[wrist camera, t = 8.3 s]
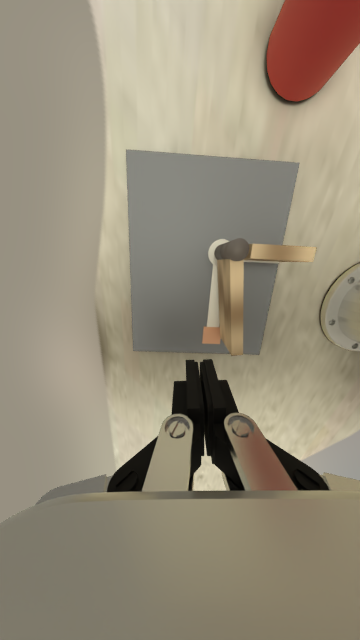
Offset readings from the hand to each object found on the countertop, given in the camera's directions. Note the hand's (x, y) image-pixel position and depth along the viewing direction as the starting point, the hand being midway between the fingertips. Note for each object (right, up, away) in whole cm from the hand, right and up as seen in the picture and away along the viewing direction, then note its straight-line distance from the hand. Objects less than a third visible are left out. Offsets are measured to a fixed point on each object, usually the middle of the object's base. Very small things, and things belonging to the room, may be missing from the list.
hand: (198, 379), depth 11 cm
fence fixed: (+8, +11, +9) cm, 17 cm away
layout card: (+2, +10, +11) cm, 15 cm away
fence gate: (+4, +7, +10) cm, 13 cm away
